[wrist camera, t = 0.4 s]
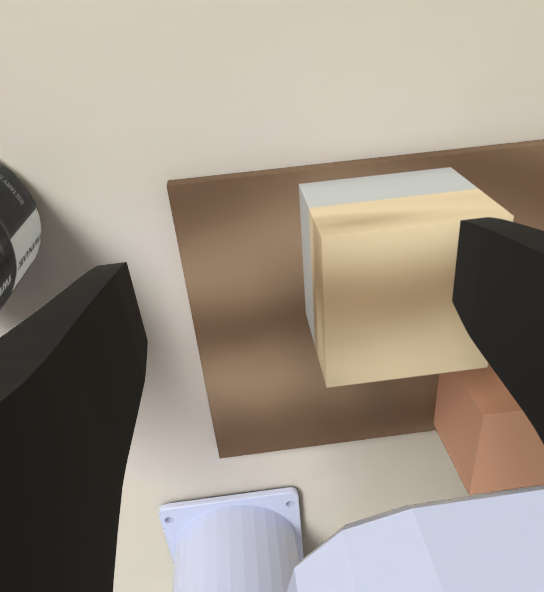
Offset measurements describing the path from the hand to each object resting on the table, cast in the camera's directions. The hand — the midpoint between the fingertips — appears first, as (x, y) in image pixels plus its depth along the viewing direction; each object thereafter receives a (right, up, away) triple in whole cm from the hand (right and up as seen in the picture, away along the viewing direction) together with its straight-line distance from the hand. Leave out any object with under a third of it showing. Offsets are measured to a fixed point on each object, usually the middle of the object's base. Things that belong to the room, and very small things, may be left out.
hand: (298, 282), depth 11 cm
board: (+6, -1, +13) cm, 14 cm away
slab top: (+4, +1, +8) cm, 9 cm away
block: (+10, -5, +15) cm, 19 cm away
